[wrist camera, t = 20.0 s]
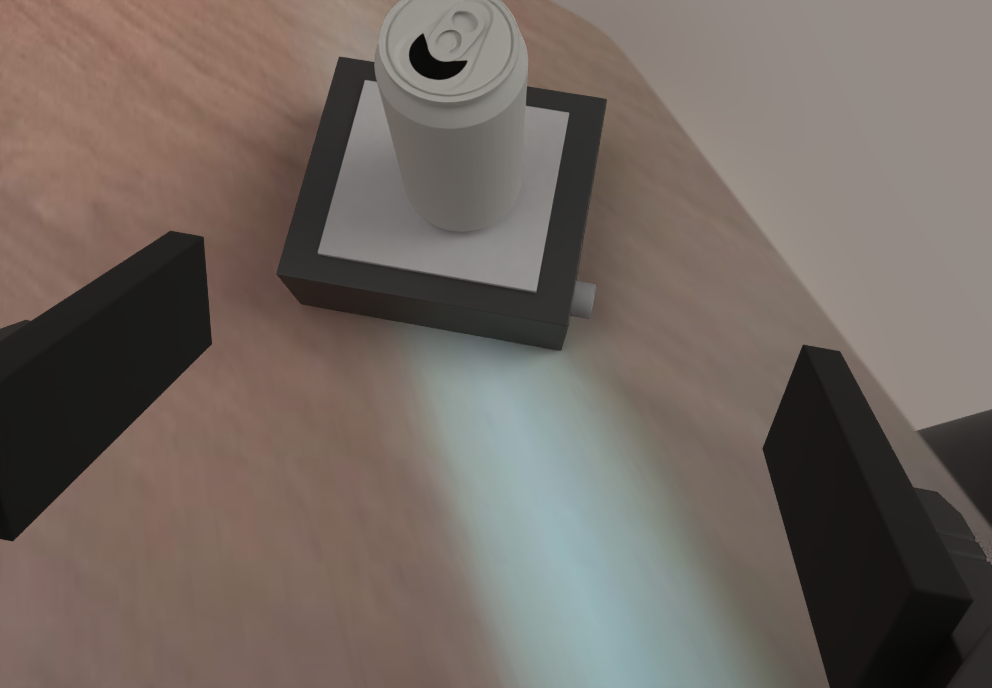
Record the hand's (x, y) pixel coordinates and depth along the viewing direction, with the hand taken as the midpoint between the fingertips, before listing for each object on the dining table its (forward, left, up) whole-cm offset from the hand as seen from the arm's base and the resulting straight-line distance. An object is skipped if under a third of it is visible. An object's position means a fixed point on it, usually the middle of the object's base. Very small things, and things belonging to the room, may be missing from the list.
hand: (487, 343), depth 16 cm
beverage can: (+5, -14, -21) cm, 26 cm away
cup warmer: (+6, -15, -26) cm, 31 cm away
